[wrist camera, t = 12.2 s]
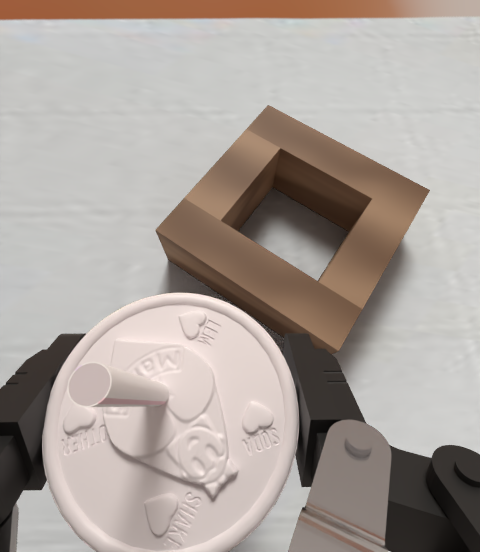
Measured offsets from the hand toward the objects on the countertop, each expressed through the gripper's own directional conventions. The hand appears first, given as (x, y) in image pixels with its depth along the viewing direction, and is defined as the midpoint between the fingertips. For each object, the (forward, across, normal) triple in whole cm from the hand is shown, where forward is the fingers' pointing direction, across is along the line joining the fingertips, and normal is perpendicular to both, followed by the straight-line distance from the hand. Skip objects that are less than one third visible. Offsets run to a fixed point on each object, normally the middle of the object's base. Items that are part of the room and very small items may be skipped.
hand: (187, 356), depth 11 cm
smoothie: (+4, 0, +6) cm, 8 cm away
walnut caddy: (+15, -6, +1) cm, 16 cm away
